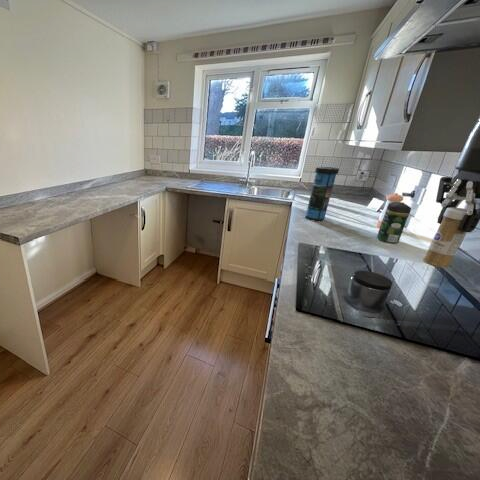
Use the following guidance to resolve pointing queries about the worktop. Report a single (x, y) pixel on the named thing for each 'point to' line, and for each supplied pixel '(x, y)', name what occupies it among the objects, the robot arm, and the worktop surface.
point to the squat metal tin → (368, 291)
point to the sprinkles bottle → (446, 239)
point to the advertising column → (321, 193)
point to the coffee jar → (393, 222)
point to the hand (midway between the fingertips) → (453, 227)
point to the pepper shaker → (390, 199)
